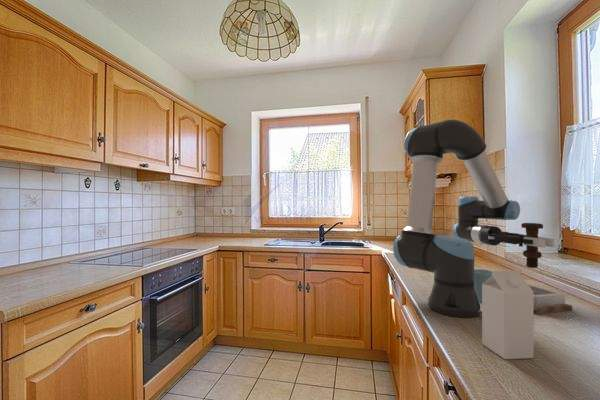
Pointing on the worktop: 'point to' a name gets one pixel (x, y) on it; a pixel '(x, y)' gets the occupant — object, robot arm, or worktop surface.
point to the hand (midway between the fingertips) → (548, 243)
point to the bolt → (532, 251)
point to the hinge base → (548, 301)
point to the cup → (480, 281)
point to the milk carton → (508, 315)
